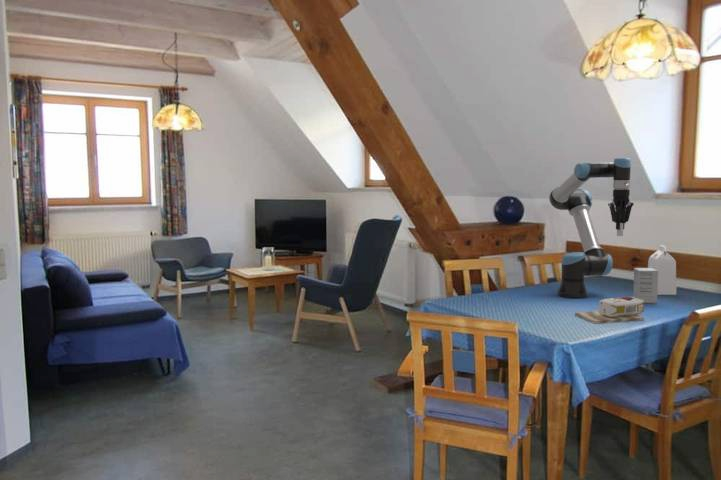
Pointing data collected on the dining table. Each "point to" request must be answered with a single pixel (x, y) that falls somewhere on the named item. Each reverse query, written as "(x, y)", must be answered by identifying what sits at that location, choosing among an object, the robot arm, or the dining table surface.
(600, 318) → the wooden board
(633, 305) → the juice carton
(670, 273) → the milk
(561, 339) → the dining table surface
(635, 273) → the supplement box
